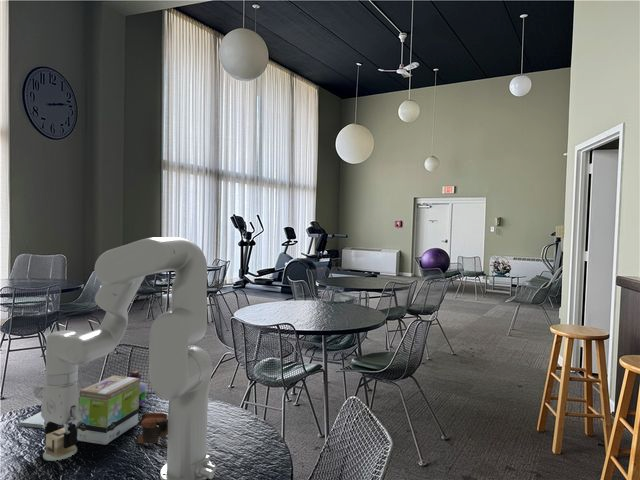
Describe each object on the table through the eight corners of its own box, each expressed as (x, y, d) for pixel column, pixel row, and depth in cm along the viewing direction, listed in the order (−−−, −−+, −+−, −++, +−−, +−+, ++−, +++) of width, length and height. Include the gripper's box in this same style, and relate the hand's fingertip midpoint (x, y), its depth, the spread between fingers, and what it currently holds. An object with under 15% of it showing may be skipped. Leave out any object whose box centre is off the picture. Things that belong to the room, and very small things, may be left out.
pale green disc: (83, 450, 122) (83, 449, 122) (54, 463, 114) (54, 462, 114) (65, 443, 125) (65, 441, 125) (36, 455, 118) (36, 453, 118)
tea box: (107, 446, 125) (108, 393, 124) (76, 441, 127) (77, 390, 126) (139, 423, 140) (140, 376, 139) (111, 419, 142) (112, 373, 141)
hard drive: (43, 424, 134) (71, 408, 147) (18, 422, 135) (49, 406, 148) (43, 430, 134) (71, 413, 147) (18, 427, 135) (48, 411, 148)
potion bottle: (143, 410, 149) (144, 375, 149) (116, 411, 148) (117, 375, 148) (150, 400, 158) (150, 367, 157) (124, 401, 157) (125, 367, 156)
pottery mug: (127, 444, 127) (131, 414, 131) (149, 446, 135) (153, 417, 139) (161, 441, 123) (165, 409, 127) (182, 443, 131) (185, 413, 135)
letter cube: (56, 458, 116) (56, 438, 116) (45, 453, 119) (45, 434, 119) (75, 450, 121) (75, 431, 121) (64, 445, 123) (64, 427, 123)
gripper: (28, 375, 120) (27, 440, 121) (68, 387, 112) (67, 457, 112) (56, 368, 127) (54, 429, 127) (95, 379, 119) (94, 444, 119)
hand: (60, 442), depth 120 cm, fingers open, 7 cm apart
